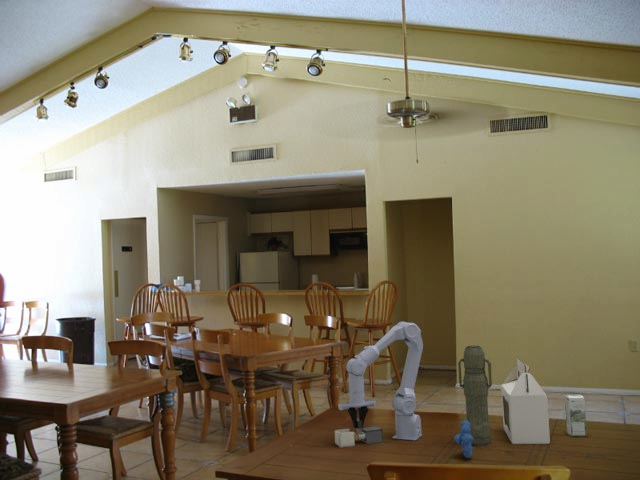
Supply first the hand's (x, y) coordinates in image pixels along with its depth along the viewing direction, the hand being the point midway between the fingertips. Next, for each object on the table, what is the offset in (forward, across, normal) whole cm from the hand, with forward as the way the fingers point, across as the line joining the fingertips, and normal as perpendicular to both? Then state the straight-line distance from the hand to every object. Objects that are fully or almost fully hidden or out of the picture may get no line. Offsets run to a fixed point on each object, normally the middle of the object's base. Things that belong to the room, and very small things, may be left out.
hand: (358, 427), depth 238 cm
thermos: (+6, -40, +18) cm, 45 cm away
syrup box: (+6, -78, +25) cm, 82 cm away
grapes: (+6, -27, +32) cm, 42 cm away
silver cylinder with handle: (+5, -3, 0) cm, 6 cm away
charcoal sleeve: (+6, -5, 0) cm, 8 cm away
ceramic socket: (+6, +6, 0) cm, 8 cm away
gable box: (+6, -60, +18) cm, 63 cm away
